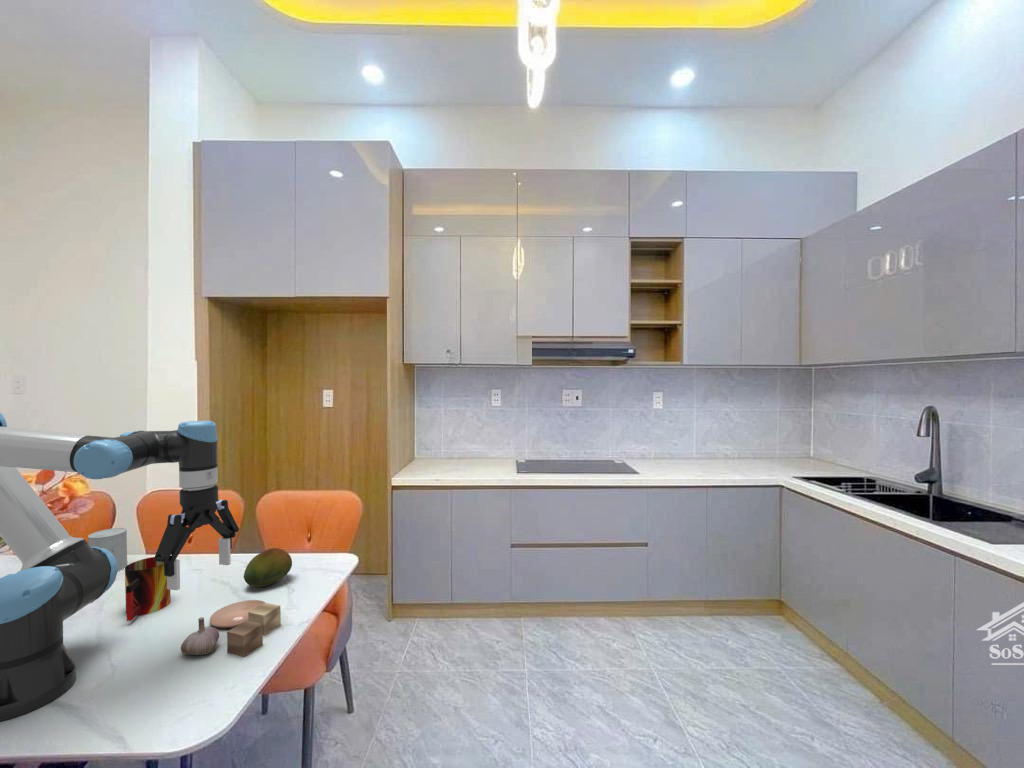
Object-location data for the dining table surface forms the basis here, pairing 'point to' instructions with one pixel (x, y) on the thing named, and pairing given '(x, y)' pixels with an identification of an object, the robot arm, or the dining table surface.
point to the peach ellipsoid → (233, 614)
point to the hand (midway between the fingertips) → (200, 576)
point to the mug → (145, 588)
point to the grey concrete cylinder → (112, 543)
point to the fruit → (267, 567)
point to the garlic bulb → (201, 640)
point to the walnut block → (244, 638)
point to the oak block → (266, 616)
